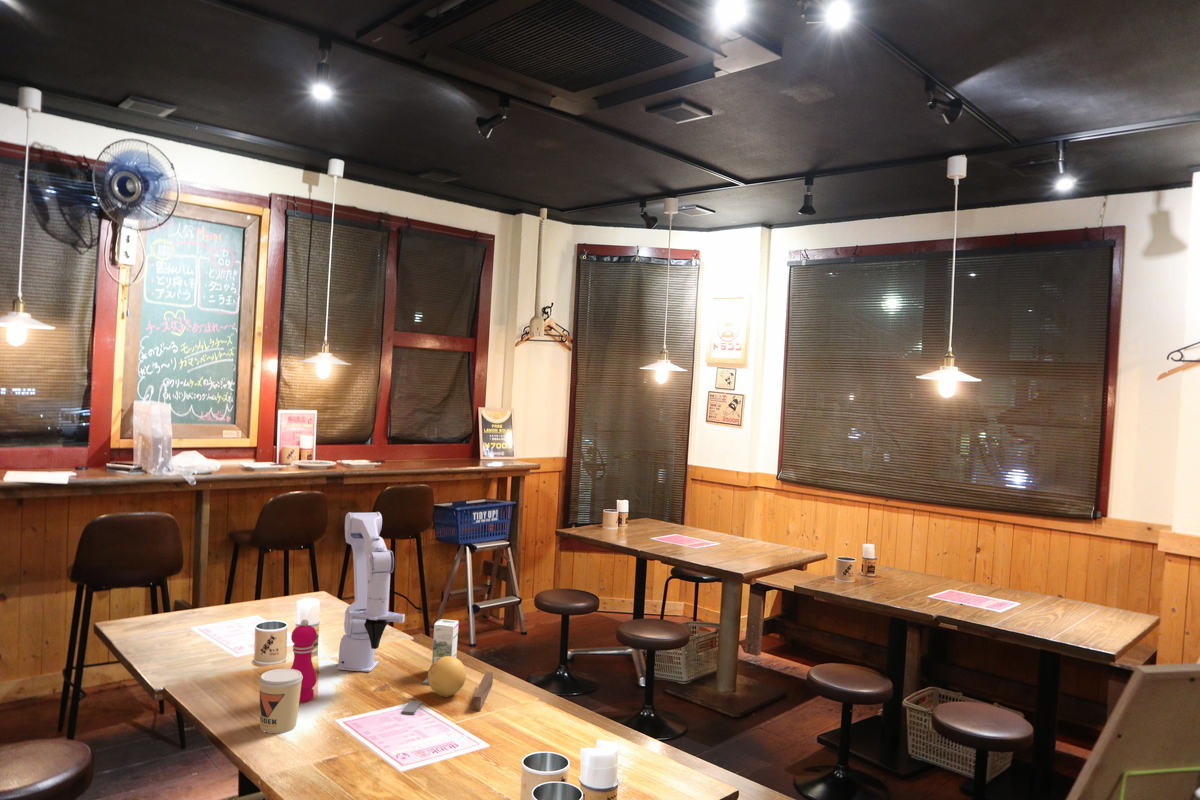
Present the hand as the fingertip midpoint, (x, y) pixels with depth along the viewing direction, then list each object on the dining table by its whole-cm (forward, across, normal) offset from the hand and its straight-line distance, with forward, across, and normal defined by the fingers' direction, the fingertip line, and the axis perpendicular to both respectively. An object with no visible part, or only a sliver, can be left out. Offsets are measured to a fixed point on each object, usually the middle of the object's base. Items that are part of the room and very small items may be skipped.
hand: (375, 647), depth 208 cm
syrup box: (+11, +16, +14) cm, 24 cm away
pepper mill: (+11, -15, -11) cm, 21 cm away
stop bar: (+10, +30, -2) cm, 32 cm away
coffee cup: (+11, -13, -28) cm, 33 cm away
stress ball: (+11, +20, -2) cm, 23 cm away
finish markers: (+10, +14, -4) cm, 18 cm away
